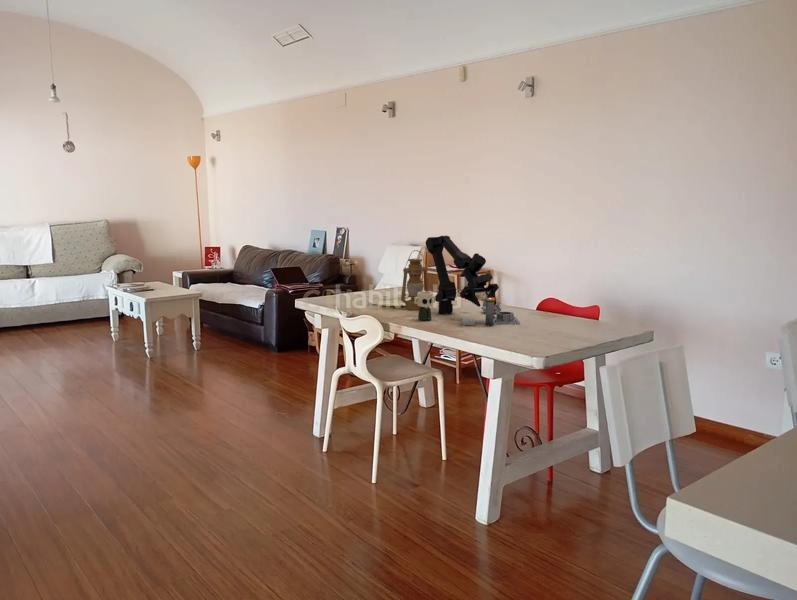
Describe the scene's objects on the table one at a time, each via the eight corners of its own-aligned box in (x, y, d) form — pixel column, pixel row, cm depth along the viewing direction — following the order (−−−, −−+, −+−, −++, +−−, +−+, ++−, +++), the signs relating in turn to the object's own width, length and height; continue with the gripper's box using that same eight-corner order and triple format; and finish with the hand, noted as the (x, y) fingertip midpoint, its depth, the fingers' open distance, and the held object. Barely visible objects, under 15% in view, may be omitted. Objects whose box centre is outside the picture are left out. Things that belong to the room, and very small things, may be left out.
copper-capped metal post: (485, 326, 287) (485, 298, 285) (484, 324, 291) (484, 297, 289) (494, 326, 287) (495, 298, 285) (493, 324, 291) (494, 297, 289)
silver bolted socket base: (493, 324, 292) (493, 315, 292) (490, 318, 304) (490, 310, 303) (519, 324, 292) (520, 315, 291) (515, 319, 304) (516, 310, 303)
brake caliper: (504, 310, 313) (490, 290, 313) (486, 323, 316) (472, 303, 316) (507, 306, 324) (493, 287, 324) (489, 318, 327) (475, 299, 327)
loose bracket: (462, 325, 289) (462, 320, 288) (461, 322, 297) (461, 316, 296) (473, 325, 289) (474, 320, 288) (472, 322, 296) (472, 316, 296)
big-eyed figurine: (417, 322, 296) (417, 294, 294) (411, 319, 302) (411, 292, 300) (438, 320, 300) (439, 292, 298) (431, 317, 307) (431, 290, 304)
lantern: (410, 311, 322) (410, 251, 317) (397, 308, 330) (397, 250, 325) (432, 308, 332) (433, 250, 327) (419, 305, 340) (419, 248, 335)
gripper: (464, 268, 286) (479, 296, 279) (496, 266, 296) (512, 292, 288) (453, 284, 294) (468, 311, 286) (485, 281, 304) (500, 307, 296)
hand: (487, 305), depth 289 cm, fingers open, 9 cm apart
